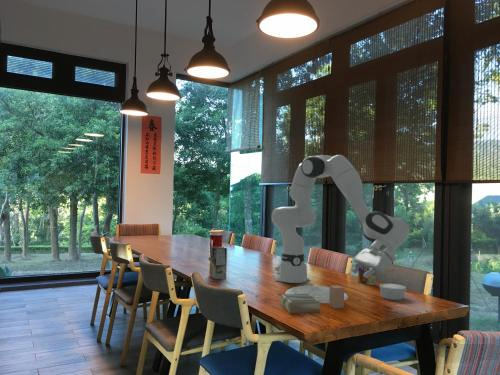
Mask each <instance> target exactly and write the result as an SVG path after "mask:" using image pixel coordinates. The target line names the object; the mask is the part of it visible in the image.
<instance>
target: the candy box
mask: <svg viewBox="0 0 500 375" xmlns="http://www.w3.org/2000/svg"><path fill="white" fill-rule="evenodd" d="M368 270H370V269H368V268H365V267H362V266H361V267H360V268H359V269H358V272H357V282H358V283H361V284H364V285H368V286H376V282H377V281H376V280H377V276H376V275H377V272H375V273H374V274H372V275H370V276H369V277H368V278H365V277H364V276H363V274H364V273H365V272H367V271H368Z"/></svg>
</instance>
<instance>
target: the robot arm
mask: <svg viewBox="0 0 500 375" xmlns="http://www.w3.org/2000/svg"><path fill="white" fill-rule="evenodd" d="M329 177H331V178H332V180H333V182H334V184H335V185H336V187H337V188H338V189H339V191H340V192H341V194H342V195H343V196H344V198H345V199H346V200H347V202H348V203H349V205H350V206H351V209H352V210H353V212H354V214H355V216H356V217H357V219H358V220H359V222H360V226H361V232H362V235H363V237H364V238H365V240H367V241H369V242H372V243H371V244H370V245H369V247H368V248H363V249H362V250H360V251H359V252H358V253H357V254H356V255H355V256H354V258H353V261H354V263H355V264H354V267H353V268H352V269H351V272H352V273H354V274H358V269H359V268H360V267H361V266H362V267H365V268H368V269H370V270H368V271H367V272H365V273H364V274H363V276H364V277H365V278H368V277H369V276H370V275H372V274H374V273H375V272H376V273H379V274H382V273H385V272H386V270H388V269H389V267H391V265H392V264H393V262H396V260H397V257H396V255H395V254H394V253H395V252H396V249H397V248H398V247H401V246H402V244H403V243H404V242H405V241H406V240H407V238H408V237H409V235H410V231H411V230H410V226H409V225H408V223H407V221H406V220H404V219H402V218H401V217H393V216H391V215H390V216H389V215H388V214H385V213H383V212H381V211H378V210H373V211H370V209H369V207H368V205H367V204H366V202H365V200H364V196H363V195H364V194H363V181H362V179H361V176H360V174H359V172H358V171H357V169H356V168H355V167H354V166H353V164H352V163H351V162H350V161H349V159H347V158H346V156H344V155H342V154H336V155H328V154H327V155H326V154H320V155H310V156H309V155H308V156H307V157H305V158H304V159H303V160H302V162H300V163H299V165H298V167H297V168H296V170H295V173H294V176H293V178H292V183H291V186H290V189H289V190H290V191H289V196H290V198H291V199H292V200H293V201H294V206H280V207H276V208H274V209H273V210H272V212H271V222H272V224H273V225H274V226H275V227H276V228H277V229H278V230H279V232H280V234H281V239H282V253H281V256H280V257H281V258H280V259H281V260H280V262H279V263H278V265H277V266H275V267H274V270H275V273H273V274H272V276H273V279H274V281H276V282H283V283H288V284H289V283H290V284H302V283H305V282H307V281H310V277H308V267H307V264H306V263H305V256H306V255H305V240H304V238H303V237H302V235H300V234H298V232H297V228H307V227H311V226H314V224H315V222H316V220H317V214H316V211H315V210H314V209H313V207H312V204H311V199H312V195H313V191H314V187H315V184H316V181H317V180H316V179H317V178H319V179H324V178H329Z"/></svg>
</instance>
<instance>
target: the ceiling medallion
mask: <svg viewBox="0 0 500 375" xmlns="http://www.w3.org/2000/svg"><path fill="white" fill-rule="evenodd" d="M329 293H330V286H327V285H308V284H306V285H300V286H299V285H298V286H293V287H291V288H289V289H286V291H285V293H284V294H310V295H311V296H313V297H314V298H316V299H317V300H319V301H320V304H329ZM348 299H349V296H348V294H346V293H345V292H344V302H345V301H347V300H348Z"/></svg>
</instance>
